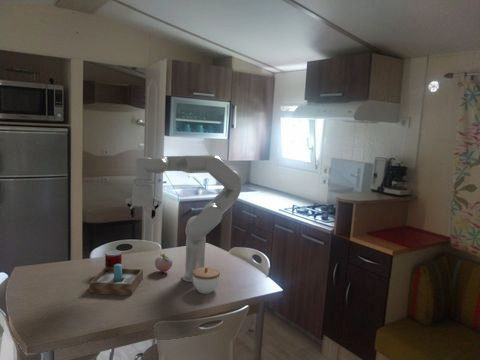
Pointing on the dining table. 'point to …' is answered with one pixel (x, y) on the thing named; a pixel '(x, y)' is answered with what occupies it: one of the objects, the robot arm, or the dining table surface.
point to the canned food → (113, 258)
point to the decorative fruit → (163, 263)
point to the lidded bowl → (205, 279)
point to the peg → (118, 273)
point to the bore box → (107, 285)
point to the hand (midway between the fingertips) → (143, 217)
